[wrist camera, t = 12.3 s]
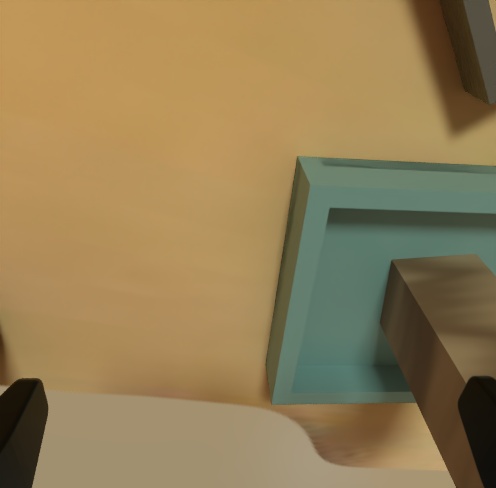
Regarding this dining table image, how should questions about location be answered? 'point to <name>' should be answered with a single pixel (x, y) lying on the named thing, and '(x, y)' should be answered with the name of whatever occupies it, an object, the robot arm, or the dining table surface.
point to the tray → (363, 268)
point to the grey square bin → (473, 45)
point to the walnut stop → (443, 343)
